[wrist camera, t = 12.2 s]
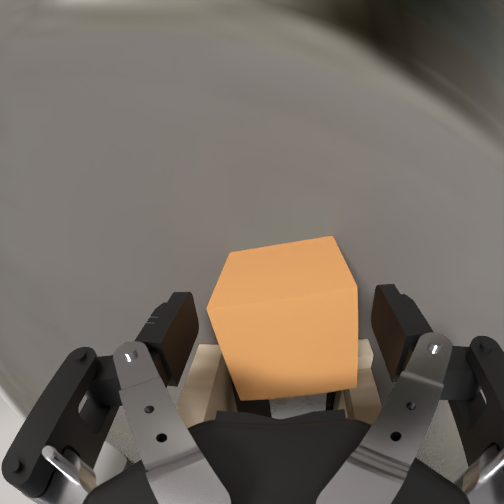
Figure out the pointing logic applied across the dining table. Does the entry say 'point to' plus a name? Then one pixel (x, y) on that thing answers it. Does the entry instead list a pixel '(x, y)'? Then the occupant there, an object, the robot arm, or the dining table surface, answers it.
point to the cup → (108, 463)
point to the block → (287, 320)
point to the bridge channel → (222, 397)
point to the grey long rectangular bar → (297, 405)
